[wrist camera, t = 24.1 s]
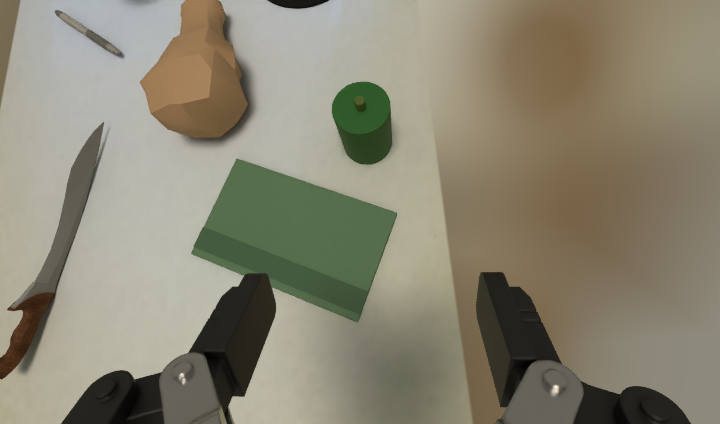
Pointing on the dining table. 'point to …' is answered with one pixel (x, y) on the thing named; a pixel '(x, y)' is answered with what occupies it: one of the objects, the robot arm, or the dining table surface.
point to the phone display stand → (297, 3)
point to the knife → (53, 256)
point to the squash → (197, 76)
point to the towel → (297, 237)
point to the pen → (87, 32)
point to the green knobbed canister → (363, 121)
